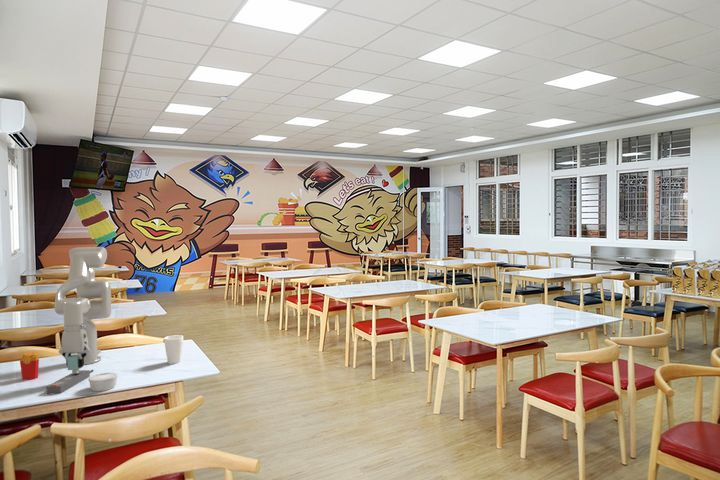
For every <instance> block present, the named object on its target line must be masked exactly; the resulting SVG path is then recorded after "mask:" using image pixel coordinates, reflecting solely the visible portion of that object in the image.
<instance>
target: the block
mask: <svg viewBox="0 0 720 480" xmlns="http://www.w3.org/2000/svg"><path fill="white" fill-rule="evenodd" d="M78 359H79V356H78V354H77V353H72V354H71V355H70V356H68V357H67V365H66V367H67V366H68V368H67V371H72V372H71V373H78V372H79V370H80V369H81V368H83V367H81V368H79V367H78Z"/></svg>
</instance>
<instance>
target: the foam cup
mask: <svg viewBox="0 0 720 480" xmlns="http://www.w3.org/2000/svg"><path fill="white" fill-rule="evenodd" d="M163 343H164V347H165V353H166V359H167V364H169V365H176V364H180V363H181V362H182V353H183V344H184V335H182V334H181V335H180V334H174V335H168V336H165V337H163Z"/></svg>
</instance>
